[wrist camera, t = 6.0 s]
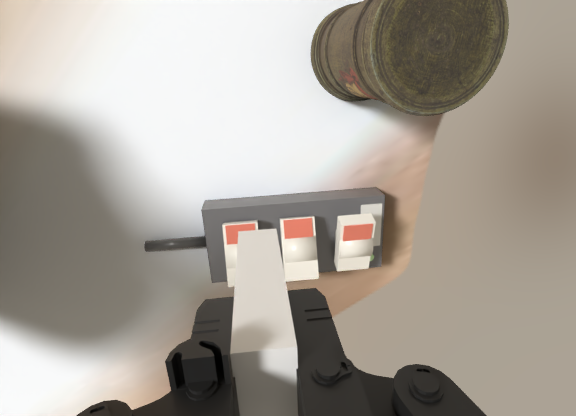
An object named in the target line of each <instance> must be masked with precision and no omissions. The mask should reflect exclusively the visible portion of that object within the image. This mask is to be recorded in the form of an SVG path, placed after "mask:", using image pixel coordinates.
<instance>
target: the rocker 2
mask: <svg viewBox="0 0 576 416" xmlns="http://www.w3.org/2000/svg"><path fill="white" fill-rule="evenodd" d="M279 219H280V231H281V244H282V257H283V269H284V275H285V280H286V282H288V281H299V280H309V279H319V272H318V259H317V245H316V232H315V218H314V216H303V217H291V218H279Z"/></svg>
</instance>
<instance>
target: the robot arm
mask: <svg viewBox="0 0 576 416" xmlns="http://www.w3.org/2000/svg"><path fill="white" fill-rule="evenodd" d="M165 363H166V367H167V372H168V377H169V382H170V387H171V391H170V392H169V393H168V394H167V395H165V396H164V397H162V398H161V399H159V400H156V401H154V402H152V403H150V404H147V405H145V406H142V407H139V408H137V409H134V410H131V409H130V407H129V406H128V405H127V404H126V403H124V402H121V401H118V400H111V401H103V402H100V403H98V404H95V405H92V406H90V407H89V408H87V409H85V410H84V411H82V412H81V413H79V414H78V415H77V416H486V415H485V414H484V413H483V412H482V411H481V410H480V409H479V407H477V406H476V405H475V403H473V401H472V400H471V399H470V398H469V397H468V396H467V395H466V394H465V393H464V392H463V391H462V390H461V389H460V388H459V387H458V386H457V385H456V384H455V383H454V382H453V381H452V380H451V379H450V378H449V377H447V376H446V375H445V374H443V373H442V372H441V371H439V370H437V369H434V368H432V367H430V366H426V365H419V364H415V365H407V366H405V367H403V368H401V369H400V370H398V371H397V373H396V375H395V377H394V378H388V377H382V376H376V375H372V374H368V373H365V372H363V371H361V370H358V369H357V368H356V367H355V366H354V365H353V363H352V362H351V361H350V360H349V359H347V358H346V356H345V354H344V351H343V348H342V345H341V342H340V339H339V337H338V334H337V331H336V328H335V325H334V322H333V319H332V316H331V313H330V310H329V307H328V304H327V301H326V298H325V296H324V295H322V294H321V293H320V292H319V291H318V290H317V289H316V288H311V289H301V290H290V291H287V286H286V280H285V275H284V269H283V263H282V258H281V252H280V246H279V241H278V235H277V229H263V230H251V231H238V245H237V260H236V275H235V290H234V297H227V298H216V299H206V300H205V301H204V302H203V303H202V305H201V306H200V307H199V308H198V310H197V312H196V317H195V322H194V326H193V331H192V335H191V339H189V340H187V341H185V342H183V343H181V344H179V345H178V346H177V347H176V348H175V349H173V350H172V351H171V352H170V354H169V355H168V357H167V359H166V361H165Z"/></svg>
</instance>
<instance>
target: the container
mask: <svg viewBox="0 0 576 416" xmlns="http://www.w3.org/2000/svg"><path fill="white" fill-rule="evenodd" d="M508 26H509V19H508V8H507V4H506V0H364V1H362V2H358V3H355V4H350V5H346V6H344V7H341V8H339V9H337V10H335V11H333V12H332V13H330V14H329V15H328V16H326V17H325V18H324V19H323V20H322V22H321V23H320V24H319V26H318V27H317V29H316V31H315V33H314V36H313V40H312V45H311V63H312V67H313V70H314V73H315V75H316V77H317V79H318V81H319V82H320V84H321V85H322V86H323V88H324V89H325V90H326V91H328V92H329V93H330V94H332V95H333V96H335V97H337V98H339V99H342V100H347V101H362V100H368V99H374V100H380V101H382V102H384V103H387V104H390V105H391V106H393V107H394V108H396V109H398V110H400V111H402V112H405V113H408V114H412V115H420V116H429V115H437V114H441V113H445V112H448V111H450V110H453V109H455V108H457V107H459V106H460V105H462V104H464V103H465V102H467V101H468V100H469V99H471V98H472V97H473V96H475V95H476V94H477V93H478V92H479V91H480V90H481V89H482V88H483V87H484V85H485V84H486V83H487V82H488V81H489V79H490V78H491V76H492V75H493V73H494V72H495V70H496V68H497V66H498V64H499V62H500V60H501V57H502V55H503V52H504V49H505V45H506V41H507V35H508Z"/></svg>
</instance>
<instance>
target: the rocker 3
mask: <svg viewBox="0 0 576 416" xmlns="http://www.w3.org/2000/svg"><path fill="white" fill-rule="evenodd" d="M375 224H376V222H375V220H374V218H373V216H372V214H371V213H367V214H355V215H343V216H338V217H337V229H336V231H335V256H334V263H335V266H336V269H337V271H347V270H358V269H368V268H369V262H370V256H371V255H372V253H373V237H374V231H375Z"/></svg>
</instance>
